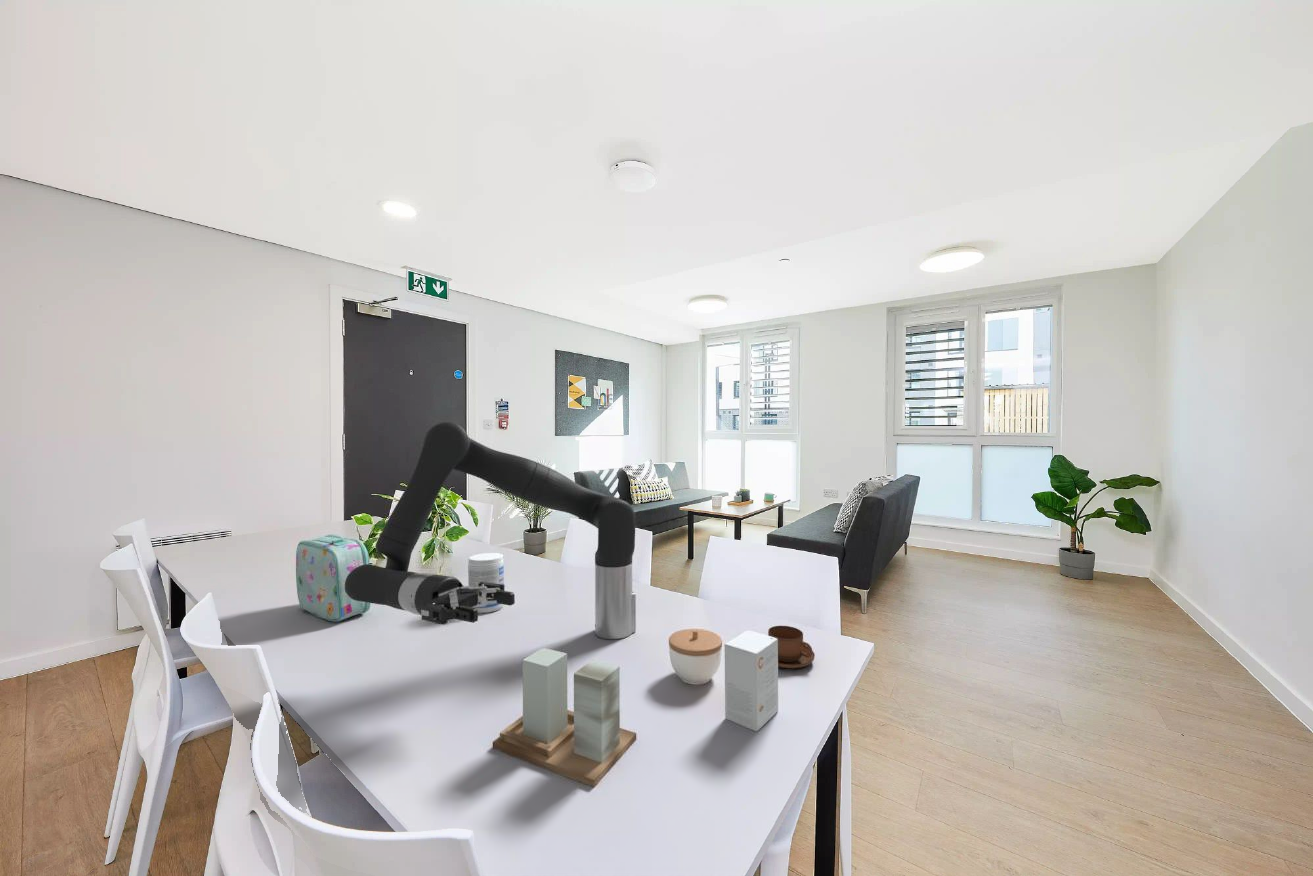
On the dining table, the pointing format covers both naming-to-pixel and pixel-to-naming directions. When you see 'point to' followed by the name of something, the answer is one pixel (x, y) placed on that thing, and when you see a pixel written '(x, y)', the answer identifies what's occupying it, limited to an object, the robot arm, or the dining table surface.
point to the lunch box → (329, 576)
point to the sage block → (545, 694)
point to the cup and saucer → (791, 647)
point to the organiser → (579, 730)
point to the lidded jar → (695, 655)
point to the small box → (751, 679)
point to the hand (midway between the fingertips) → (495, 607)
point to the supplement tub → (486, 575)
